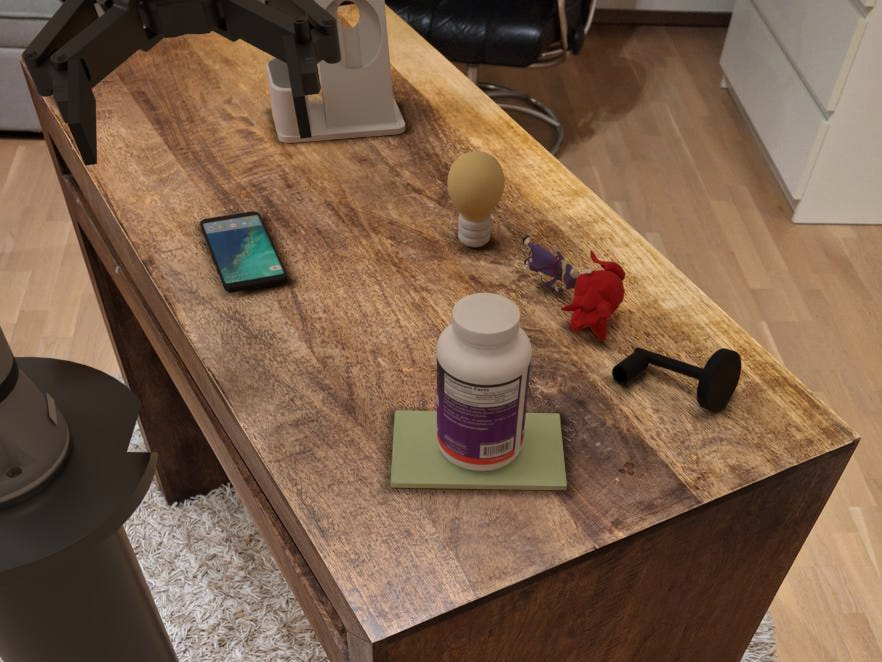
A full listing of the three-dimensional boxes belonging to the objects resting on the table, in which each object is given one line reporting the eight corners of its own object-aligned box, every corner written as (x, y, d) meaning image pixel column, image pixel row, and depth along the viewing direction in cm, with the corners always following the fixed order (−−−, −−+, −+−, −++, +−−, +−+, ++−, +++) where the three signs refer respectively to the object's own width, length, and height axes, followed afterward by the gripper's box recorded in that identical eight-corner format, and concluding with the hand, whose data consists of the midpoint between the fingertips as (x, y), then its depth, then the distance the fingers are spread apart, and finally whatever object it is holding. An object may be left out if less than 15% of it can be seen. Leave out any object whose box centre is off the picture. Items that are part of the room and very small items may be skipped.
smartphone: (258, 209, 107) (289, 278, 99) (259, 215, 107) (290, 284, 99) (197, 218, 105) (224, 289, 97) (199, 225, 106) (225, 295, 97)
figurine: (547, 257, 103) (648, 317, 97) (495, 299, 101) (595, 363, 95) (544, 208, 97) (651, 269, 92) (489, 252, 95) (595, 317, 90)
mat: (390, 487, 82) (390, 483, 81) (395, 414, 87) (395, 409, 87) (566, 490, 82) (567, 485, 82) (559, 418, 88) (559, 413, 88)
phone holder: (276, 144, 118) (254, -18, 103) (268, 108, 123) (245, -50, 109) (407, 133, 121) (402, -26, 106) (392, 99, 126) (386, -56, 112)
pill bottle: (464, 407, 87) (468, 272, 76) (537, 437, 85) (553, 302, 74) (420, 456, 83) (417, 320, 72) (495, 489, 81) (505, 354, 69)
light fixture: (576, 423, 91) (653, 365, 96) (663, 457, 85) (739, 394, 91) (573, 370, 87) (654, 313, 92) (664, 403, 81) (744, 340, 86)
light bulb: (506, 231, 107) (511, 145, 99) (494, 260, 104) (499, 173, 96) (454, 223, 108) (455, 137, 100) (440, 251, 104) (441, 164, 96)
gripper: (353, -16, 70) (396, 161, 61) (23, 20, 68) (16, 209, 58) (340, -133, 63) (386, 46, 54) (-27, -98, 61) (-44, 95, 52)
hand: (193, 131), depth 56 cm, fingers open, 13 cm apart
